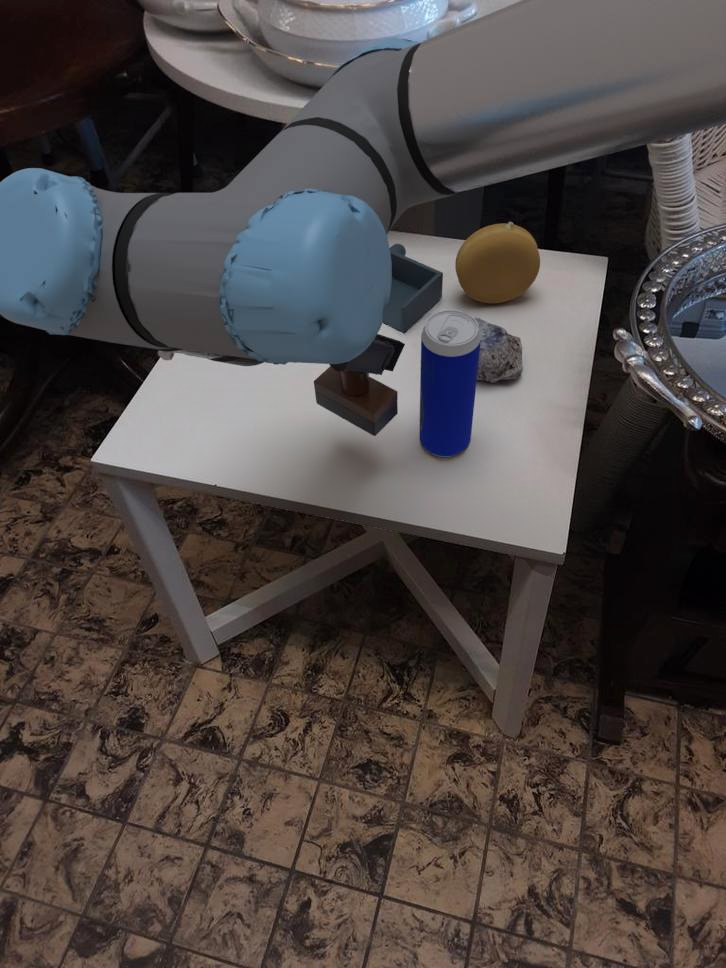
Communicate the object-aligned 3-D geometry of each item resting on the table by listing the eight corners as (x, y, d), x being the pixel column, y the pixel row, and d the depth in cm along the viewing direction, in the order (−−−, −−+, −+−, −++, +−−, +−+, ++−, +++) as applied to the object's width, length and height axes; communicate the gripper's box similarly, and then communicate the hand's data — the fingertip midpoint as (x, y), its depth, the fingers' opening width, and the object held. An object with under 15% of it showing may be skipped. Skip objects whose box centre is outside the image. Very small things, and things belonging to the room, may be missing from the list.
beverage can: (434, 414, 80) (439, 300, 68) (479, 433, 79) (492, 319, 67) (410, 448, 78) (410, 335, 66) (455, 467, 76) (465, 355, 64)
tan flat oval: (530, 284, 92) (542, 210, 84) (536, 305, 90) (549, 231, 82) (452, 291, 92) (456, 218, 84) (456, 311, 90) (461, 238, 82)
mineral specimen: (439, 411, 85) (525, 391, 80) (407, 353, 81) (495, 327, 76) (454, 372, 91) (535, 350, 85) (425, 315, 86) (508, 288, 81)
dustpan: (404, 333, 88) (404, 307, 85) (299, 282, 94) (295, 256, 92) (456, 284, 93) (457, 259, 90) (352, 239, 99) (350, 213, 96)
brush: (397, 413, 72) (397, 292, 60) (374, 437, 70) (369, 317, 59) (339, 382, 74) (328, 260, 63) (316, 403, 73) (300, 283, 62)
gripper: (118, 309, 54) (300, 351, 74) (287, 407, 47) (434, 423, 68) (155, 205, 52) (331, 278, 73) (335, 292, 45) (471, 345, 66)
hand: (380, 348), depth 70 cm, fingers closed on brush, 3 cm apart
